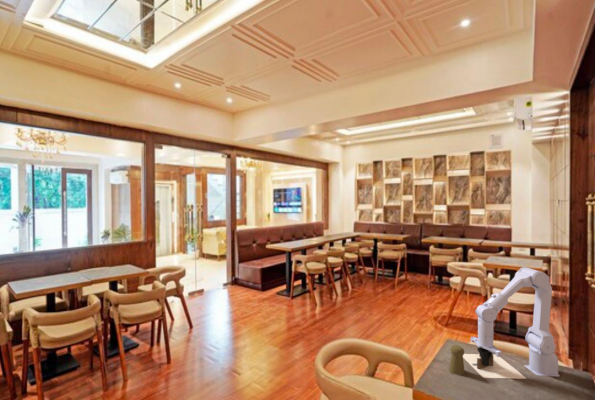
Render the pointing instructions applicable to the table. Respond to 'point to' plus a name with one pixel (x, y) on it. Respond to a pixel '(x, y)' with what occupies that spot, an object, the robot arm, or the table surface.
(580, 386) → the table surface
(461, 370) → the cork
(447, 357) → the table surface
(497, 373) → the card
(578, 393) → the table surface
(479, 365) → the fence gate
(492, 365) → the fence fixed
